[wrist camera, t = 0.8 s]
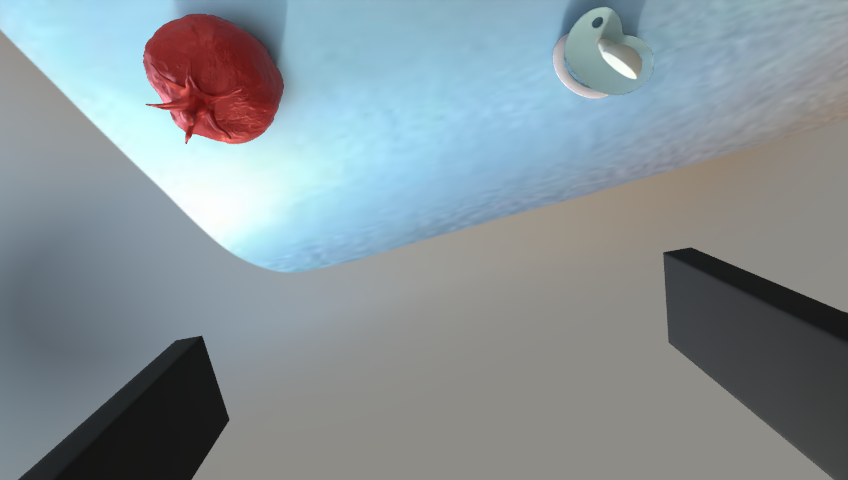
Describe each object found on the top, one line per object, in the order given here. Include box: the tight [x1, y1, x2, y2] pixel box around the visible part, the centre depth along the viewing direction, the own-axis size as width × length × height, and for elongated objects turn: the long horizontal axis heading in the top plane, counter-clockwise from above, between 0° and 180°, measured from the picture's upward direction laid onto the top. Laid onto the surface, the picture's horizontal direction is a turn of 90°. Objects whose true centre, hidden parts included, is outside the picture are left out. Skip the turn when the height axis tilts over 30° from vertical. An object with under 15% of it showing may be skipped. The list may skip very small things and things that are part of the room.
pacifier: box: [553, 7, 654, 98], centre depth 34 cm, size 7×6×6 cm
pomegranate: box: [143, 14, 284, 144], centre depth 35 cm, size 10×10×9 cm
